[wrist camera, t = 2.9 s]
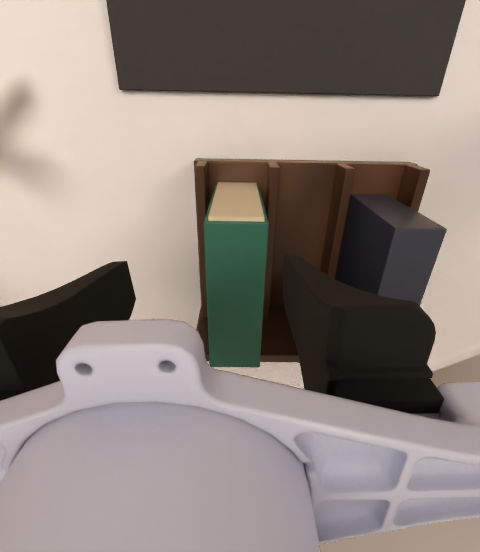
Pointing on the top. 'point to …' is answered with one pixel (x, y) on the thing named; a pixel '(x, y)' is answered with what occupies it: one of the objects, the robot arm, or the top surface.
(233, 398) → the robot arm
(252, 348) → the green book
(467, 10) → the top surface
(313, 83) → the felt mat
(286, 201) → the book rack
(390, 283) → the navy book
